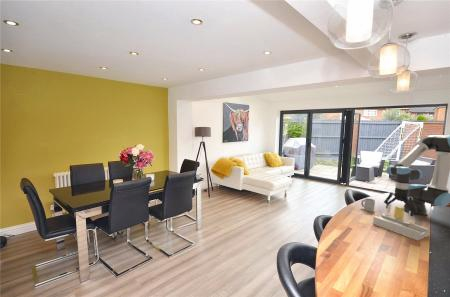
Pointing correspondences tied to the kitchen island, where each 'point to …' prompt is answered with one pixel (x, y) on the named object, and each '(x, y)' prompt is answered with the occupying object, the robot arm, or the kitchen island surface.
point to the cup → (368, 204)
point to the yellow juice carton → (399, 212)
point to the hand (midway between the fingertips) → (398, 216)
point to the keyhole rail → (401, 227)
